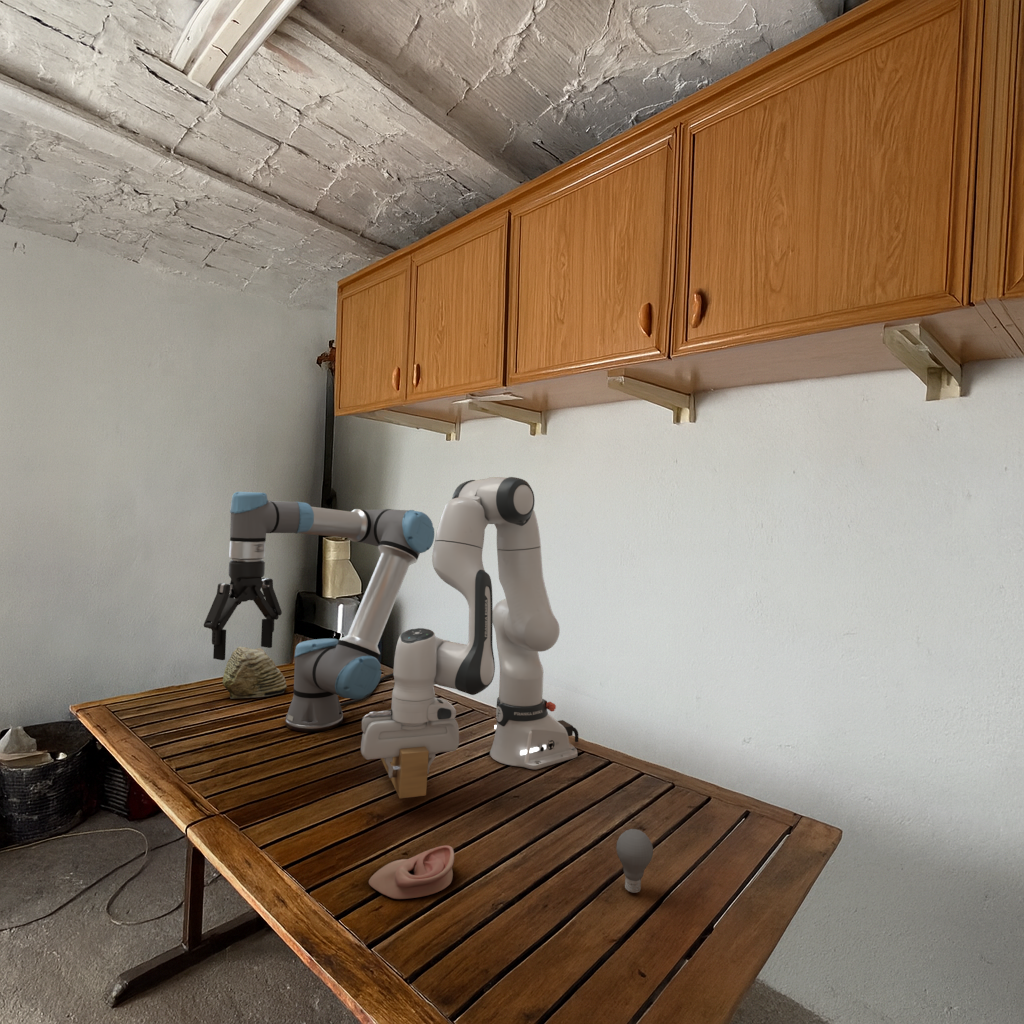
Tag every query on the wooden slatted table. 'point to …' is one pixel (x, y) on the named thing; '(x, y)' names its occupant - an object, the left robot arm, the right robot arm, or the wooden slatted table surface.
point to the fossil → (252, 674)
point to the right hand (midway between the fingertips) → (408, 774)
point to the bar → (410, 772)
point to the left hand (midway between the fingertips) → (243, 652)
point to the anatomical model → (416, 874)
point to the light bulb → (634, 857)
